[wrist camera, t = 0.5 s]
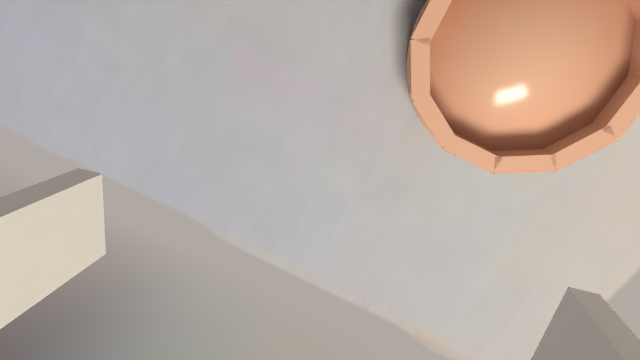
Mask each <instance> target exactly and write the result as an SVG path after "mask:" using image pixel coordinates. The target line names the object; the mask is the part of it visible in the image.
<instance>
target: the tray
mask: <svg viewBox="0 0 640 360" xmlns="http://www.w3.org/2000/svg"><path fill="white" fill-rule="evenodd" d="M406 71H407V83H408V88H409V92H410V98H411V100H412V102H413V105H414V108H415V110H416V112H417V114H418V116H419V118H420V119H421V121H422V123H423V124H424V126H425V127H426V128H427V130H428V131H429V133H430V134H431V135H432V136H433V137H434V138H435V139H436V140H437V142H438V143H439V145H440V147H441V148H442V149H444V150H446V151H448V152H450V153H452V154H454V155H456V156H458V157H460V158H462V159H464V160H466V161H468V162H470V163H472V164H474V165H476V166H478V167H480V168H482V169H484V170H486V171H489V172H491V173H494V174H501V173H529V172H555V170H556V171H558V170H560V169H562V168H564V167H566V166H568V165H570V164H572V163H574V162H576V161H578V160H580V159H582V158H584V157H586V156H588V155H590V154H592V153H594V152H596V151H598V150H600V149H602V148H604V147H606V146H608V145H610V144H612V143H614V142H616V141H618V139H620V138H621V137H622V135H623V134H624V133H625V132H626V131H627V129H628V128H629V127H630V126H631V124H632V123H633V122H634V121H635V119H636V118H637V117H638V116H639V114H640V0H426V2H425V4H424V6H423V7H422V9H421V11H420V13H419V15H418V18H417V20H416V22H415V24H414V27H413V31H412V34H411V37H410V41H409V47H408V52H407V67H406ZM617 138H618V139H617Z"/></svg>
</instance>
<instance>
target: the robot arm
mask: <svg viewBox="0 0 640 360" xmlns="http://www.w3.org/2000/svg"><path fill="white" fill-rule="evenodd" d="M103 209H104V208H103V188H102V174H100V173H95V172H91V171H87V170H83V169H79V168H78V169H75V170H73V171H70V172H67V173H65V174H62V175H59V176H57V177H54V178H51V179H49V180H46V181H44V182H41V183H38V184H36V185H33V186H30V187H28V188H25V189H22V190H19V191H17V192H14V193H11V194H9V195H6V196H4V197H1V198H0V329H1V328H2V327H4V326H5V325H6V324H8V323H9V322H11V321H12V320H13V319H15V318H16V317H18V316H19V315H20V314H22V313H23V312H25V311H26V310H27V309H29V308H30V307H32V306H33V305H34V304H36V303H37V302H39V301H40V300H41V299H43V298H44V297H45V296H47V295H48V294H50V293H51V292H53V291H54V290H55V289H57V288H58V287H60V286H61V285H63V284H64V283H65V282H67V281H68V280H69V279H71V278H72V277H74V276H75V275H77V274H78V273H79V272H81V271H82V270H84V269H85V268H86V267H88V266H89V265H90V264H92V263H93V262H95V261H96V260H98V259H99V258H100V257H102V256H103V255H105V253H106V251H105V229H104V210H103ZM531 360H640V340H639V339H638V338H637V337H636V335H635V334H634V333H633V332H632V331H631V330H630V328H629V327H628V326H627V325H626V324H625V323H624V322H623V320H622V319H621V318H620V317H619V316H618V315H617V314H616V313H615V311H614V310H613V309H612V308H611V307H610V306H609V304H608V303H607V302H606V301H605V300H604V299H603V298H602V296H601V295H600V294H596V293H591V292H587V291H583V290H579V289H575V288H571V287H568V288H567V290H566V292H565V294H564V296H563V298H562V300H561V302H560V304H559V306H558V308H557V310H556V312H555V314H554V316H553V318H552V320H551V322H550V324H549V326H548V327H547V329H546V331H545V333H544V335H543V337H542V339H541V341H540V343H539V345H538V347H537V349H536V351H535V353H534V355H533V357H532V359H531Z"/></svg>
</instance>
